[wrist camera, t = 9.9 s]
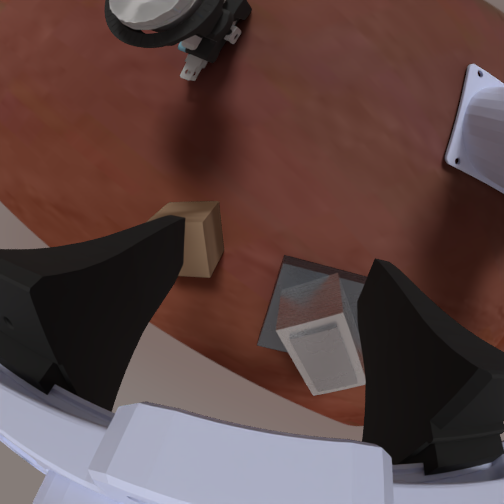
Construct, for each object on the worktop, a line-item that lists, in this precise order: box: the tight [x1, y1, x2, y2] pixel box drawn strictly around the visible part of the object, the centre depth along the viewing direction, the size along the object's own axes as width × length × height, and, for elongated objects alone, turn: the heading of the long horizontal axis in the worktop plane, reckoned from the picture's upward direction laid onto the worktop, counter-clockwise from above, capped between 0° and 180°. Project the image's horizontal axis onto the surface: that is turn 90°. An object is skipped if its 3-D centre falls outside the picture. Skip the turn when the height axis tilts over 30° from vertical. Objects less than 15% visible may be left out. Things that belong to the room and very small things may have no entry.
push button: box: [105, 0, 252, 81], centre depth 11 cm, size 7×5×10 cm
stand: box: [257, 255, 367, 352], centre depth 24 cm, size 10×9×1 cm
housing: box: [276, 273, 366, 396], centre depth 21 cm, size 8×4×5 cm, turn 26°
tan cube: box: [147, 201, 224, 278], centre depth 21 cm, size 4×4×4 cm
